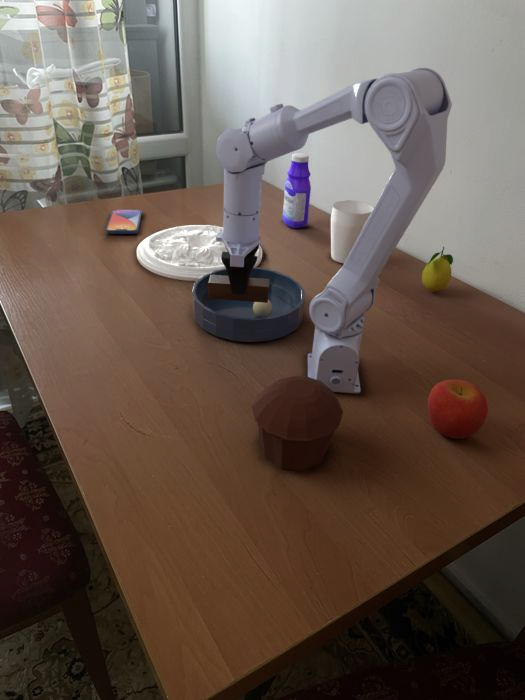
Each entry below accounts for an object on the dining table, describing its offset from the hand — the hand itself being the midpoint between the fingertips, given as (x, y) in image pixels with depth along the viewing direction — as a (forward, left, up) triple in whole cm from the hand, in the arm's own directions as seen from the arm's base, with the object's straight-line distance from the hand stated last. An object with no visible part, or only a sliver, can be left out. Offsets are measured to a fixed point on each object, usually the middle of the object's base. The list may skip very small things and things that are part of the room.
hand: (239, 288), depth 92 cm
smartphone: (+46, +33, -8) cm, 57 cm away
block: (0, 0, -2) cm, 2 cm away
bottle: (+54, -9, -9) cm, 55 cm away
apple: (-22, -32, -9) cm, 40 cm away
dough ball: (+5, -4, -6) cm, 9 cm away
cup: (+35, -21, -9) cm, 42 cm away
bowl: (+6, -1, -8) cm, 10 cm away
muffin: (-28, -10, -9) cm, 31 cm away
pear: (+21, -38, -9) cm, 44 cm away
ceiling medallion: (+32, +12, -9) cm, 35 cm away
